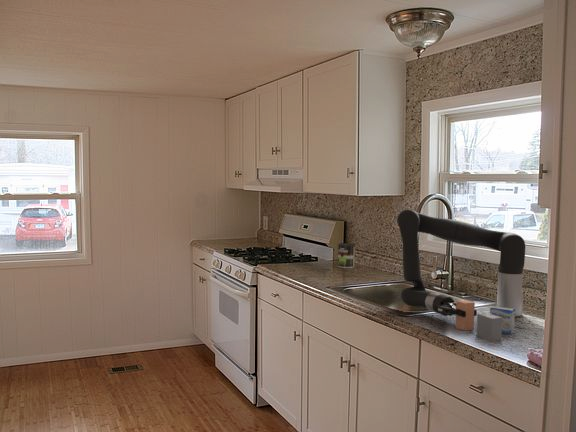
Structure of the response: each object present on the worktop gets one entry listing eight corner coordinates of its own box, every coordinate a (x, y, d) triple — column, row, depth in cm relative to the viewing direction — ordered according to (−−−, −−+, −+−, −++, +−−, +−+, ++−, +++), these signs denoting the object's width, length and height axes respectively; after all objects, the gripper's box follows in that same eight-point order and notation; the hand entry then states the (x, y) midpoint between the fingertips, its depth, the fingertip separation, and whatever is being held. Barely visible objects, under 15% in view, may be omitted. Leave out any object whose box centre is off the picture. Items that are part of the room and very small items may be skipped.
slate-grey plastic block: (486, 335, 195) (487, 312, 195) (501, 340, 189) (502, 317, 188) (476, 336, 193) (477, 313, 193) (491, 341, 187) (492, 318, 186)
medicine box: (488, 330, 200) (489, 307, 200) (491, 328, 204) (492, 305, 204) (511, 334, 196) (512, 310, 196) (514, 331, 200) (515, 308, 199)
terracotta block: (465, 326, 206) (466, 299, 206) (473, 329, 202) (474, 302, 202) (455, 327, 204) (456, 300, 204) (464, 330, 200) (465, 303, 200)
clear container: (349, 269, 332) (349, 245, 331) (334, 267, 338) (334, 244, 337) (357, 266, 340) (358, 244, 339) (343, 265, 346) (343, 242, 345)
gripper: (425, 295, 213) (455, 305, 197) (454, 293, 219) (486, 302, 203) (424, 314, 213) (454, 325, 198) (453, 311, 219) (485, 322, 204)
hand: (470, 313), depth 201 cm, fingers closed on terracotta block, 4 cm apart
